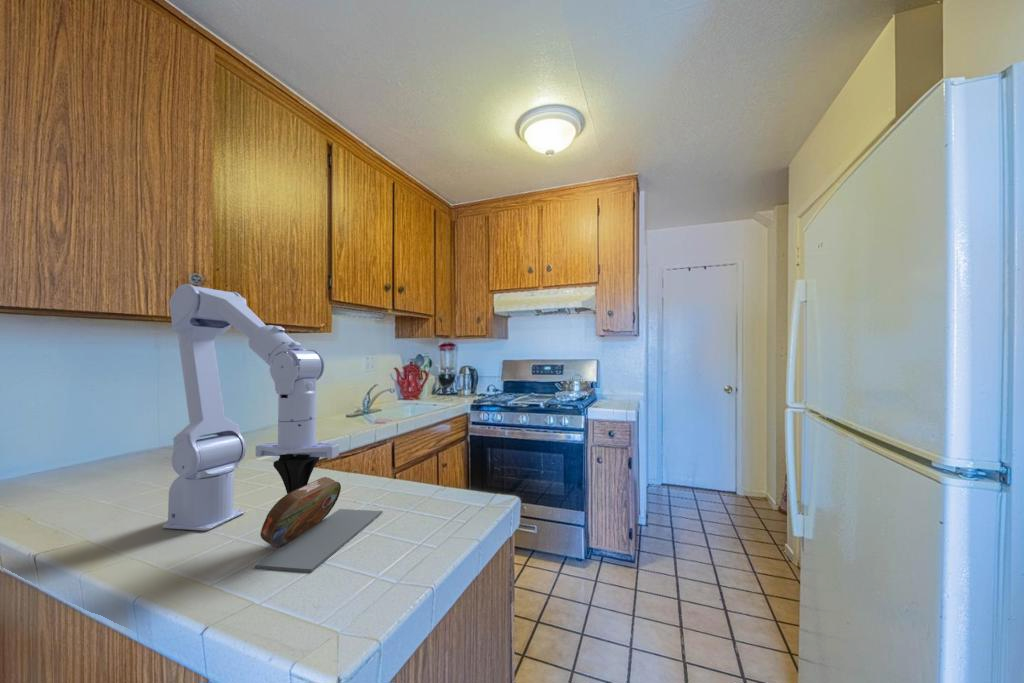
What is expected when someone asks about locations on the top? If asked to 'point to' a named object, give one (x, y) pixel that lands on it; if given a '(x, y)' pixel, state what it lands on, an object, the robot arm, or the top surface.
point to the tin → (299, 511)
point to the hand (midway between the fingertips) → (296, 499)
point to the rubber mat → (319, 541)
